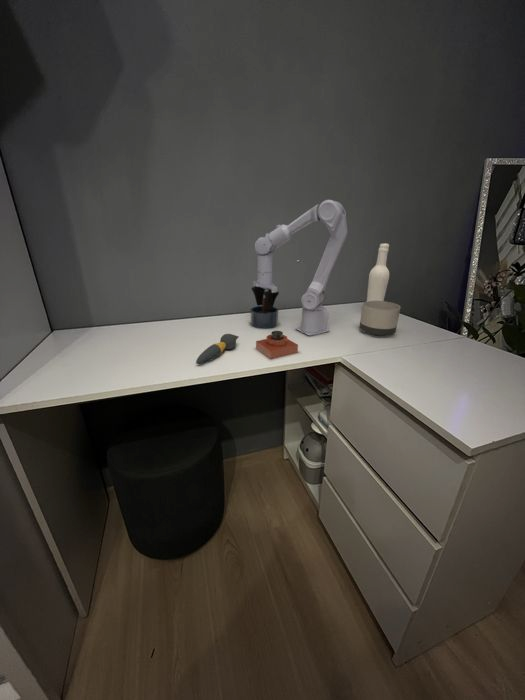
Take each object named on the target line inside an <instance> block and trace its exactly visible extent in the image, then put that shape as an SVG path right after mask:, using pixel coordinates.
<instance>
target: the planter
mask: <svg viewBox="0 0 525 700" xmlns="http://www.w3.org/2000/svg"><path fill="white" fill-rule="evenodd" d="M400 313H401V305H399V304H397V303H395V302H392V301H391V302H390V301H386V300H384V301H367V300H366V301H364V302H362V307H361V313H360V314H361V315H360V318H359V325H358V328H359V329H360V330H361V331H362V332H364V333H365V334H367V335H371V336H375V337H387V336H392V335H394V334H395V333H396V332H397V327H398V323H399V318H400Z"/></svg>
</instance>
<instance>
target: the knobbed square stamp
mask: <svg viewBox="0 0 525 700" xmlns="http://www.w3.org/2000/svg"><path fill="white" fill-rule="evenodd" d="M255 349H256V350H257V351H258V352H260V353H261V354H262V355H264V356H265V357H266V358H268V359H270V360H272V359H273V360H274V359H278V358H281V357H286V356H289V355H293V354H297V353H298V352H299V344H297V343H296V342H294V341H292V340H291V339H289V338H288V336H287V335H285V334H283V339H282V340H273V339H271V334H268V335H266V338H265V339H259V340H256V341H255Z"/></svg>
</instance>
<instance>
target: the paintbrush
mask: <svg viewBox="0 0 525 700" xmlns="http://www.w3.org/2000/svg"><path fill="white" fill-rule="evenodd" d="M239 338H240V336H239V335H236V334H232V333H225V334H223V335H222V336H221V337H220V340H219V342H217V343H213V344H211V345H210V346H208V347H207V348H205V349H204V350H203V351H202V352H201V353H200V354H199V355H198V357H197V359H196V361H195V363H196V364H197V365H203V364H205V363H208V362H211V361H212V360H214V359H216V358H217V357H218V356H220V355H221V354H222V353H223V351H224V350H232V349H234V348H235V346H236V344H237V339H239Z"/></svg>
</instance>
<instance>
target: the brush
mask: <svg viewBox="0 0 525 700" xmlns="http://www.w3.org/2000/svg"><path fill="white" fill-rule="evenodd" d="M261 306H262V311H260V312H258V313H271V312H269V311H267V308H266V299H265V297H263V298H262V305H261Z"/></svg>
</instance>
